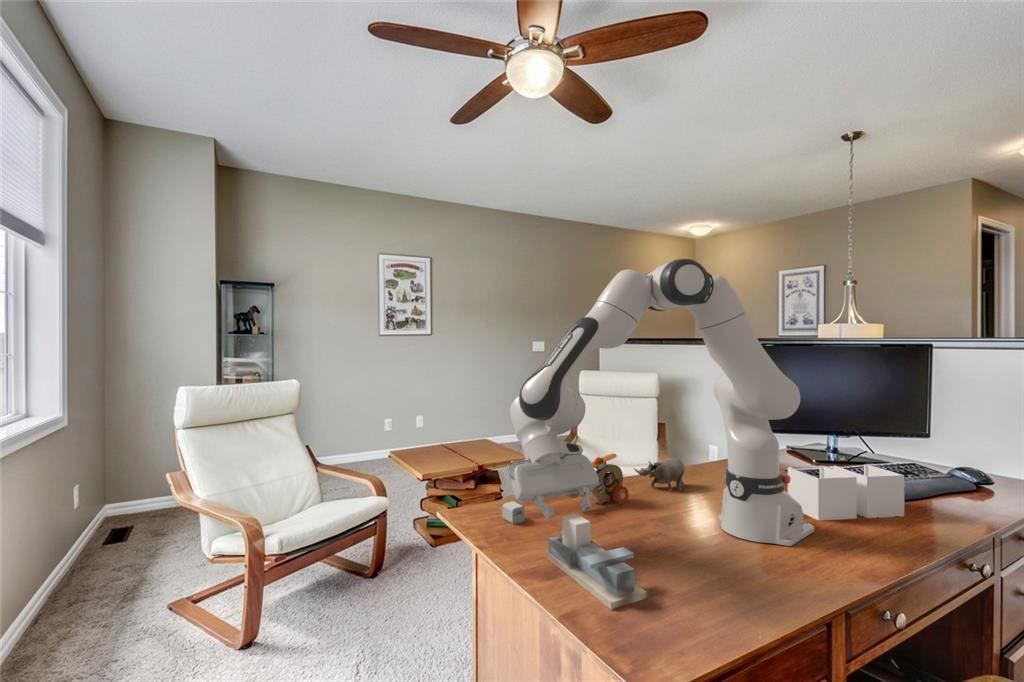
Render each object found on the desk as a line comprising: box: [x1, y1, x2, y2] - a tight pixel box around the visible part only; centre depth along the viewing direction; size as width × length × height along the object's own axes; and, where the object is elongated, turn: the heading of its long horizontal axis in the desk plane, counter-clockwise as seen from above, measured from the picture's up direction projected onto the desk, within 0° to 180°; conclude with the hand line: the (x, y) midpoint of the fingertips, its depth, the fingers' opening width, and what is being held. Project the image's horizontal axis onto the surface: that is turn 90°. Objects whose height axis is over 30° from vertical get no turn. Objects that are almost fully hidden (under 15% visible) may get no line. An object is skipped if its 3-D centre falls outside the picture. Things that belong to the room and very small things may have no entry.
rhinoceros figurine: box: [633, 456, 685, 493], centre depth 145 cm, size 8×14×15 cm
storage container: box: [787, 464, 905, 522], centre depth 126 cm, size 25×11×11 cm, turn 97°
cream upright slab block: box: [561, 513, 591, 565], centre depth 96 cm, size 4×5×8 cm
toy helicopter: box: [566, 453, 629, 505], centre depth 131 cm, size 8×21×14 cm, turn 122°
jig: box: [546, 535, 648, 611], centre depth 90 cm, size 10×21×6 cm, turn 27°
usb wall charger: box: [499, 501, 526, 525], centre depth 120 cm, size 4×7×4 cm, turn 37°
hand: (569, 513), depth 98 cm, fingers open, 8 cm apart
